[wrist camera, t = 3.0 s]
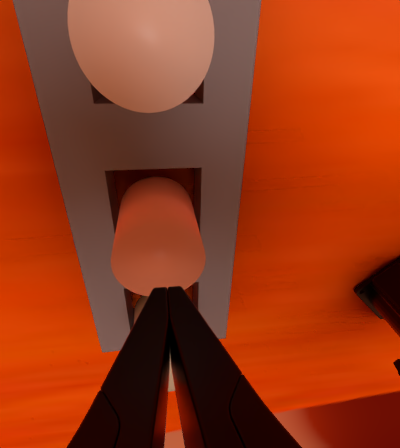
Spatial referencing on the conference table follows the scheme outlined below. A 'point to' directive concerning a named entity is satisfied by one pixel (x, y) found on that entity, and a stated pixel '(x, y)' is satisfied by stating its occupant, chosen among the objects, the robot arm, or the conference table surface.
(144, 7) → the button offwhite
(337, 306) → the conference table surface
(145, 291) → the button terracotta
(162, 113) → the button board
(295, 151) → the conference table surface
